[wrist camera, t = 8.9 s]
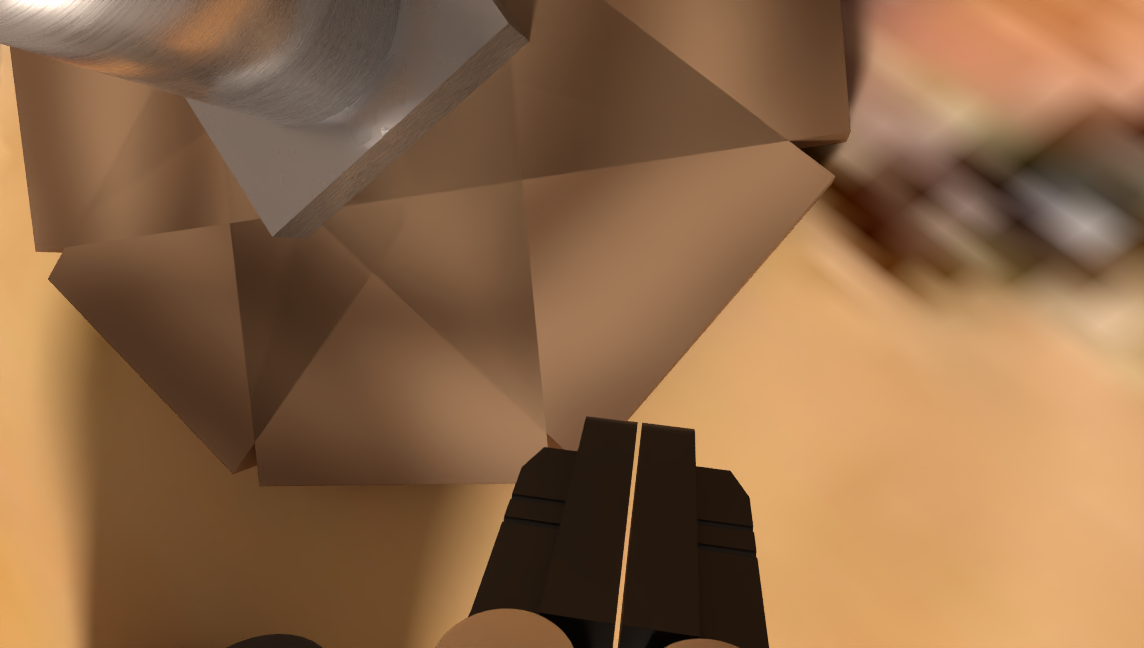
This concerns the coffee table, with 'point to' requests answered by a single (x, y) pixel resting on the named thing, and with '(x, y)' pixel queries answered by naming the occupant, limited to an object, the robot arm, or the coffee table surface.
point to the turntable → (447, 241)
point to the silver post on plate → (287, 79)
